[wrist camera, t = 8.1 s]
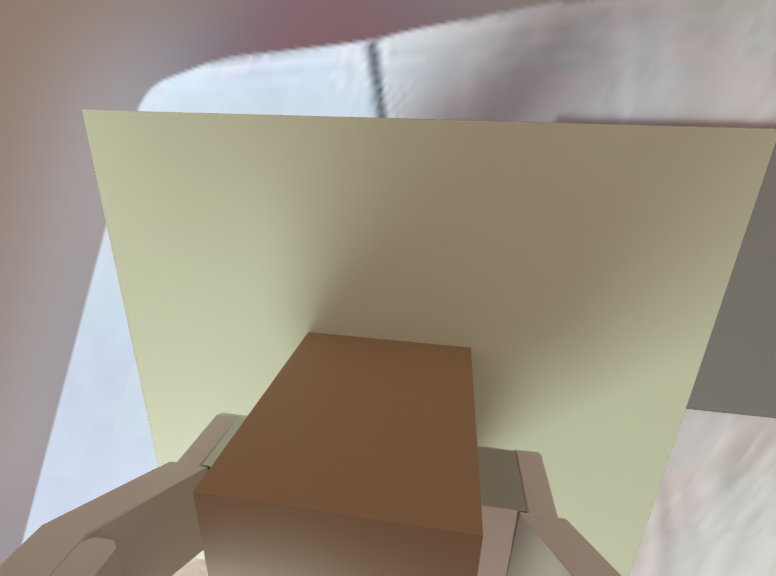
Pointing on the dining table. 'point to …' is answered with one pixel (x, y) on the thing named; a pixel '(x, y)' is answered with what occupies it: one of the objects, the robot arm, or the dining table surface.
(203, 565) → the skull bowl
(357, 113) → the dining table surface
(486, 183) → the lid
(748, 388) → the mat
